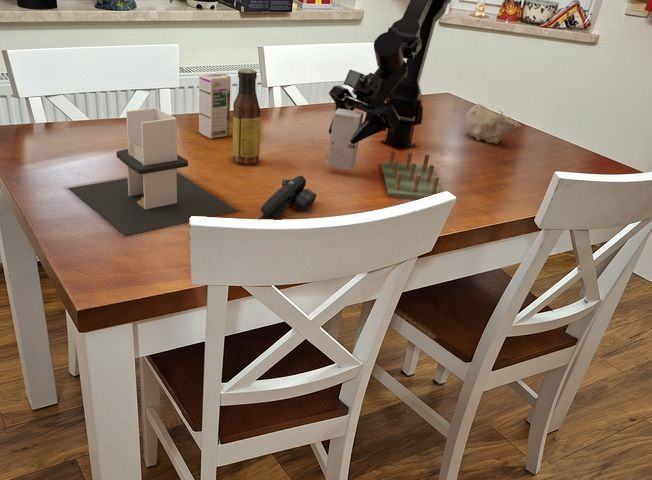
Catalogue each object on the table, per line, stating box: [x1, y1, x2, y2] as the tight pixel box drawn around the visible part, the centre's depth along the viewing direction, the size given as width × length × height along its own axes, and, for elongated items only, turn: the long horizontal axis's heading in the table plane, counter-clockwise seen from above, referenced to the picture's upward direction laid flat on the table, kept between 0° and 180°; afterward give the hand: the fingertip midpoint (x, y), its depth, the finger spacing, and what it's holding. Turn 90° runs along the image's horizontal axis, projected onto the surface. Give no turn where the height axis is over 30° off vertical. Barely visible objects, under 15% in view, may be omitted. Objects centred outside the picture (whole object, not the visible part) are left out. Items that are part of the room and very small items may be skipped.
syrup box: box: [198, 71, 232, 139], centre depth 163 cm, size 6×6×14 cm
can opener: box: [259, 175, 317, 220], centre depth 127 cm, size 18×7×6 cm, turn 150°
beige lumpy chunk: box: [464, 103, 522, 145], centre depth 179 cm, size 15×7×15 cm
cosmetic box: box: [326, 108, 365, 171], centre depth 146 cm, size 6×4×12 cm
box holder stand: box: [67, 107, 239, 237], centre depth 125 cm, size 25×24×16 cm
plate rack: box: [380, 150, 443, 200], centre depth 147 cm, size 20×12×4 cm, turn 177°
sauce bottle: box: [232, 68, 262, 166], centre depth 146 cm, size 6×6×20 cm
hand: (340, 137), depth 145 cm, fingers closed on cosmetic box, 7 cm apart
